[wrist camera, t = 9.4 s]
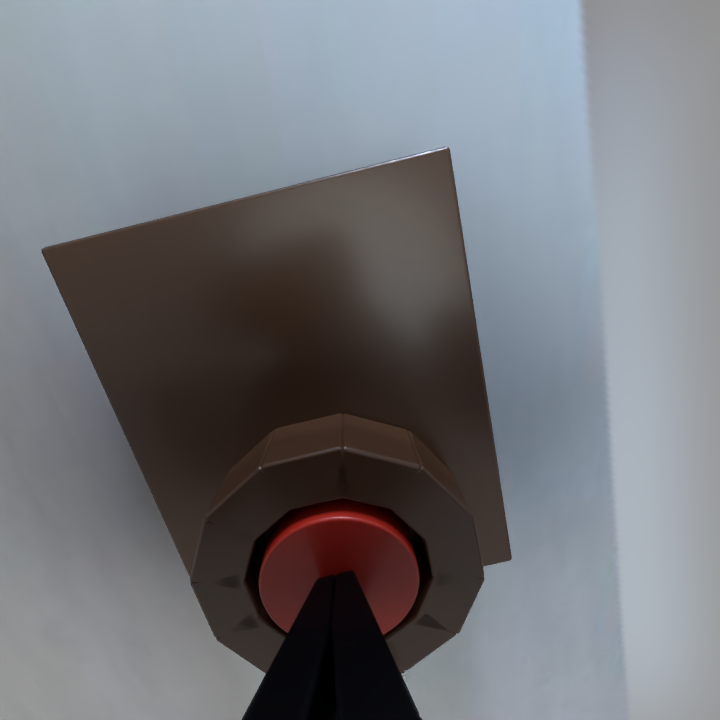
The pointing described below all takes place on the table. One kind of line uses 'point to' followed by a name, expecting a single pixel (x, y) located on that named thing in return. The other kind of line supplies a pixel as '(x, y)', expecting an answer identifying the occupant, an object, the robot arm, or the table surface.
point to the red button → (339, 559)
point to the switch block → (301, 381)
